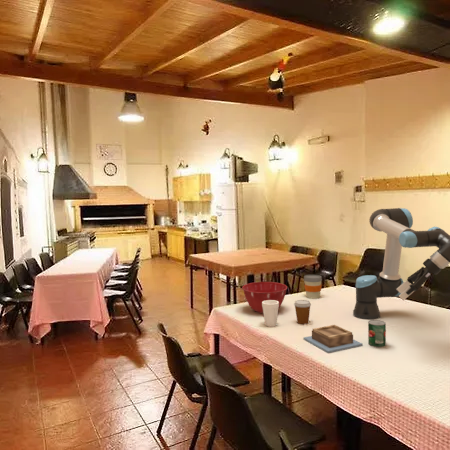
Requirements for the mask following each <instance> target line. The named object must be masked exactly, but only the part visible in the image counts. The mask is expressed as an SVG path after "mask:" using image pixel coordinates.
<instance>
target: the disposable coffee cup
mask: <svg viewBox="0 0 450 450" xmlns="http://www.w3.org/2000/svg"><path fill="white" fill-rule="evenodd" d="M293 305H294V308H295V314H296V315H295V316H296V322H297V324H300V325H308V324H309V322H310V320H309V319H310V312H311V306H312V304H311V301H310V300H307V299H297V300H295V301H294V303H293Z"/></svg>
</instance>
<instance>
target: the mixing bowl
mask: <svg viewBox="0 0 450 450" xmlns="http://www.w3.org/2000/svg"><path fill="white" fill-rule="evenodd" d="M241 288H242V290H243V294H244V296H245V299H246V301H247V304H248V305H249V307H250V309H252V310H253V311H255V312H256V313H259V314H264V313H263V307H262V302H263V301H266V300H275V301H278V302H279V307H278V310H279V309H280V308H281V306H282V304H283V302H284V299H285V297H286V293H287V289H288V286H287V285H286V284H284V283H280V282H274V281H257V282H250V283H246V284H244V285H243V286H242V287H241Z"/></svg>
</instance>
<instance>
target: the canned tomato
mask: <svg viewBox="0 0 450 450" xmlns="http://www.w3.org/2000/svg"><path fill="white" fill-rule="evenodd" d="M367 323H368V326H367V327H368V328H367V329H368V331H367V332H368V333H367V335H368V337H367V341H368V345H369V346H370V347H373V348H385V347H386V346H387V345H386V342H387V341H386V340H387V337H386V335H387V332H386V331H387V330H386V329H387V325H386V324H387V322H386V321H384V320H381V319H369V320H368V321H367Z"/></svg>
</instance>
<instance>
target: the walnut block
mask: <svg viewBox="0 0 450 450" xmlns="http://www.w3.org/2000/svg"><path fill="white" fill-rule="evenodd" d="M311 336H312V339H314V340H316V341H318V342H320V343H321V344H323V345H325V346H327V347H329V348H331V347H336V346H340V345H345V344H350V343H353V339H354V334H353V332H352V331H350V330H348V329H346V328H343V327H341V326H339V325H337V324H330V325H326V326H319V327H315V328H312V330H311Z"/></svg>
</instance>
